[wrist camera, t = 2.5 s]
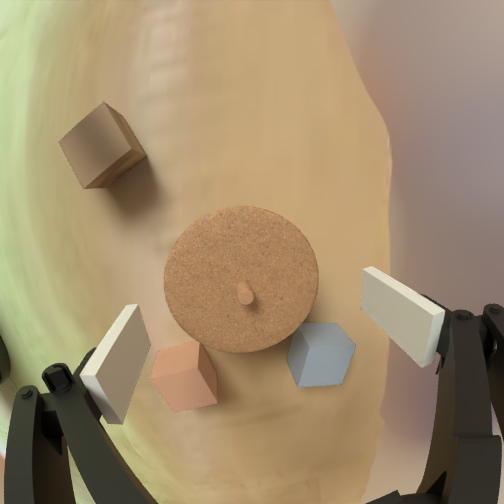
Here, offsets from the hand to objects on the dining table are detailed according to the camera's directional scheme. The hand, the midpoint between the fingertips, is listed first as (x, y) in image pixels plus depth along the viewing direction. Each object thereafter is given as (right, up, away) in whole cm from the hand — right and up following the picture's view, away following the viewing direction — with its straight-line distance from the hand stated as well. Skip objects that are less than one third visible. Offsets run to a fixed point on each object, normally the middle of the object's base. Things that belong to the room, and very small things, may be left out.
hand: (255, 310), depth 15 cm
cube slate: (+6, -7, +14) cm, 17 cm away
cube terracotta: (-7, -9, +13) cm, 17 cm away
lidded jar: (-2, +3, +11) cm, 11 cm away
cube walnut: (-13, +13, +7) cm, 19 cm away
